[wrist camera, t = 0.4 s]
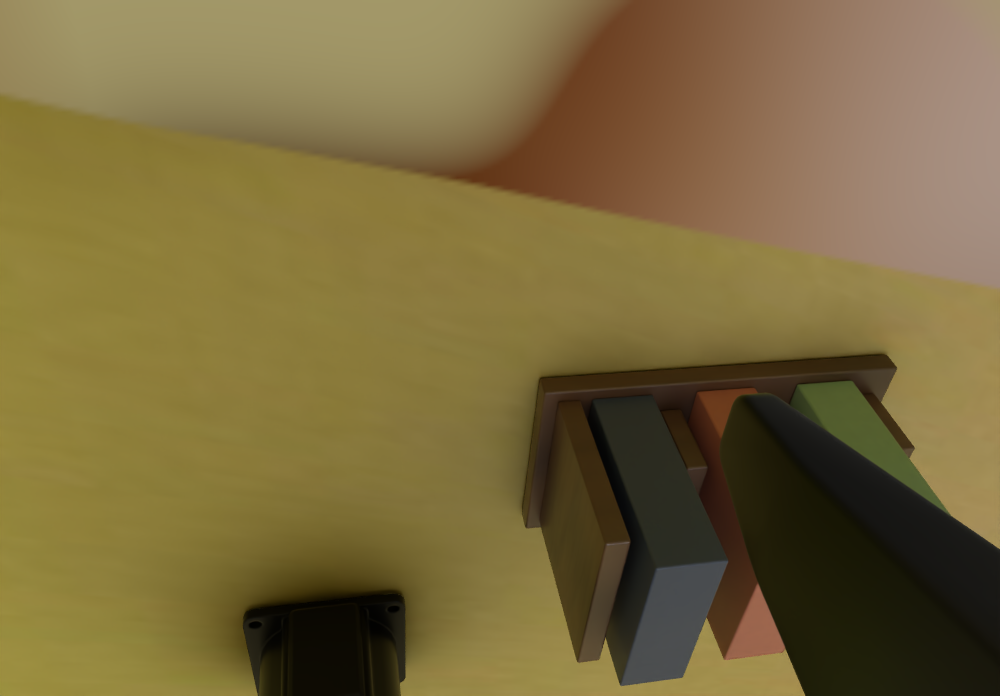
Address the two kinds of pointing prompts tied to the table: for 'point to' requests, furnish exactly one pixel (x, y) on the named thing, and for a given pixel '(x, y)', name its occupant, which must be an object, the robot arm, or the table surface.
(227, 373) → the table surface
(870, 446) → the sage-green book
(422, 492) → the table surface
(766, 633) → the terracotta book
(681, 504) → the navy book
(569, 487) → the book rack
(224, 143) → the table surface
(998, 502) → the table surface
